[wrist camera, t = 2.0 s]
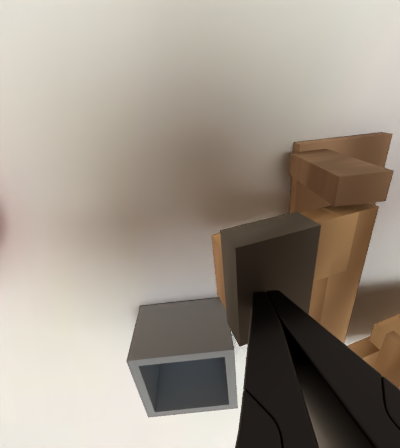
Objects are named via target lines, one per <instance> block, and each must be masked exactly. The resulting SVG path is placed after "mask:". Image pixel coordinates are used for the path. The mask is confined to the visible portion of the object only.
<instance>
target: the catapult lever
mask: <svg viewBox="0 0 400 448" xmlns="http://www.w3.org/2000/svg"><path fill="white" fill-rule="evenodd" d="M378 207H379V206H376V205H373V204H371V203H363V204H354V205H345V206H336V207H334V206H333V205H331V206H327V207H323V208H319V209H315V210H311V211H307V212H303V213H299V212H293V213H289V214H285V215H281V216H277V217H273V218H269V219H265V220H261V221H257V222H253V223H249V224H244V225H240V226H236V227H232V228H228V229H224V230H220V233H219V234H215V235H212V243H213V254H214V264H215V275H216V286H217V294H218V296H219V298H220V300H221V302H222V304H223V305H224V307H225V309H226V315H227V323H228V325H229V327H230V329H231V331H232V333H233V335H234V337H235V339H236V341H237V342H238V344H239V346H243V345H245V344H248V337H249V327H250V317H251V306H252V296H253V293H254V292H259V291H265V292H266V291H269V290H279V291H280V292H282V293H283V294H284V295H285V296H287V297H288V298H289V299H290V300H291V301H293V302H294V303H295V304H296V305H298V306H299V307H300V308H301V309H302V310H304V311H305V312H306V313H307V314H309V315H310V316H311V317H312V318H313V319H315V320H316V321H317V322H318V323H319V324H321V325H322V326H323V327H324V328H326V329H327V330H328V331H329V332H330V333H332V334H333V335H334V336H335V337H337V338H338V339H339V340H340V341H341V342H343V343H344V341H345V337H346V333H347V329H348V325H349V321H350V317H351V313H352V309H353V305H354V301H355V298H356V294H357V290H358V286H359V282H360V278H361V274H362V270H363V266H364V262H365V258H366V254H367V250H368V247H369V243H370V239H371V235H372V231H373V227H374V223H375V219H376V215H377V211H378ZM348 347H349V348H350V349H351V350H352V351H354V352H355V353H356V354H357V355H358V356H360V357H361V358H362V359H363V360H365V361H366V362H367V363H368V364H369V365H371V366H372V367H373V368H374V369H376V370H377V371H378V372H379V373H380V374H381V377H382V376H384V377H385V378H387V379H388V380H389V381H390V382H392V383H393V384H394V385H395V386H396V387H398V388H399V389H400V314H398V315H395V316H393V317H390V318H388V319H385V320H383V321H380V322H378V323H375V324H374V326H373V329H372V332H371V335H370V337H367V338H365V339H363V340H360V341H358V342H355V343H353V344H350V345H348Z"/></svg>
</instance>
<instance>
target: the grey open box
mask: <svg viewBox="0 0 400 448" xmlns="http://www.w3.org/2000/svg"><path fill="white" fill-rule="evenodd" d="M127 364H128V366H129V369H130V371H131V374H132V376H133V379H134V382H135V384H136V387H137V389H138V392H139V395H140V397H141V400H142V402H143V405H144V407H145V410H146V413H147V415H148V417H157V416H166V415H176V414H186V413H195V412H205V411H215V410H224V409H234V408H238V405H237V388H236V372H235V355H234V346H233V341H232V335H231V330H230V327H229V325H228V323H227V315H226V309H225V307H224V305H223V304H222V302H221V300H220V298H210V299H201V300H192V301H183V302H173V303H164V304H155V305H146V306H140V308H139V312H138V316H137V320H136V324H135V328H134V332H133V337H132V341H131V345H130V349H129V353H128V357H127Z"/></svg>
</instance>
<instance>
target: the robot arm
mask: <svg viewBox="0 0 400 448" xmlns="http://www.w3.org/2000/svg"><path fill="white" fill-rule="evenodd" d="M243 389H244V391H243V396H242V407H241V414H240V422H239V430H238V435H237V441H236V446H235V448H400V389H399V388H398V387H396V386H395V385H394V384H393V383H392V382H390V381H389V380H388V379H387V378H385V377H384V376H382V377H381V374H380V373H379V372H378V371H377V370H376V369H374V368H373V367H372V366H371V365H369V364H368V363H367V362H366V361H365V360H363V359H362V358H361V357H360V356H358V355H357V354H356V353H355V352H354V351H352V350H351V349H350V348H349V347H348V346H346V345H345V344H344V343H343V342H341V341H340V340H339V339H338V338H337V337H335V336H334V335H333V334H332V333H330V332H329V331H328V330H327V329H326V328H324V327H323V326H322V325H321V324H319V323H318V322H317V321H316V320H315V319H313V318H312V317H311V316H310V315H309V314H307V313H306V312H305V311H304V310H302V309H301V308H300V307H299V306H298V305H296V304H295V303H294V302H293V301H291V300H290V299H289V298H288V297H287V296H285V295H284V294H283V293H282V292H280V291H279V290H269V291H266V292H265V291H259V292H254V293H253V296H252V306H251V317H250V327H249V337H248V347H247V357H246V367H245V378H244V388H243Z"/></svg>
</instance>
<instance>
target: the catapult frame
mask: <svg viewBox="0 0 400 448" xmlns="http://www.w3.org/2000/svg"><path fill="white" fill-rule="evenodd" d="M391 138H392V134H390V133H383V132H380V133H371V134H362V135H353V136H345V137H336V138H327V139H319V140H310V141H301V142H294V152H293V153H290V166H289V175H290V176H292V180H291V194H290V208H289V213H293V212H299V213H303V212H307V211H311V210H315V209H319V208H323V207H327V206H331V205H333V206H334V207H336V206H345V205H354V204H363V203H371V204H373V205H375V203H376V202H381V201H386V197H387V193H388V190H389V186H390V182H391V178H392V175H393V170H390V169H386V168H384V166H385V162H386V158H387V154H388V150H389V146H390V142H391Z"/></svg>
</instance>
